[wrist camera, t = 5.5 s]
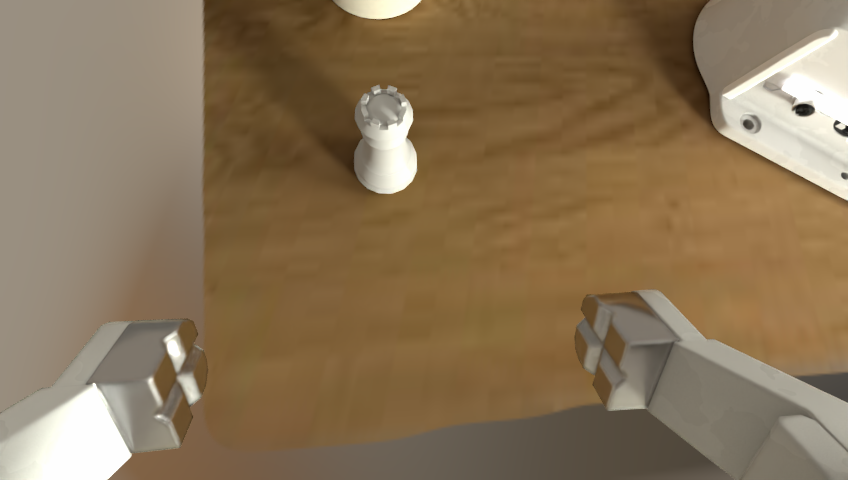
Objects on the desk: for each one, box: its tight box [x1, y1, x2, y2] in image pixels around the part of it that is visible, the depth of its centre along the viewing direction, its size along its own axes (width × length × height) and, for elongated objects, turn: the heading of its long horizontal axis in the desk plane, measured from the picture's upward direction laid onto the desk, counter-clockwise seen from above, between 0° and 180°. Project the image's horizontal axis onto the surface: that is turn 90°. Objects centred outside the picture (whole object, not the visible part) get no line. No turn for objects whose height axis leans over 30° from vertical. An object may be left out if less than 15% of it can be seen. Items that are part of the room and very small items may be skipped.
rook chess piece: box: [354, 85, 417, 193], centre depth 27 cm, size 4×4×8 cm
